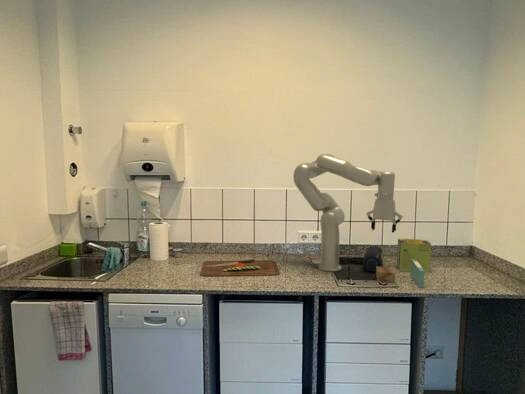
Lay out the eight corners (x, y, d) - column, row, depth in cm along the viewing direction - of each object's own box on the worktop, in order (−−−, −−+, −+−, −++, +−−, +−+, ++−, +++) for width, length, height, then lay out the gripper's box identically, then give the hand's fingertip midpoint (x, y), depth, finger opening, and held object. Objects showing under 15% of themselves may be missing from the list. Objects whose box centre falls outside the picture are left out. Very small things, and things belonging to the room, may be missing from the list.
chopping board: (194, 278, 196) (194, 272, 196) (199, 263, 223) (199, 258, 222) (285, 276, 200) (285, 270, 199) (278, 262, 226) (278, 257, 226)
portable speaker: (381, 274, 203) (382, 255, 202) (361, 272, 207) (362, 253, 206) (383, 262, 227) (384, 245, 226) (365, 260, 230) (366, 243, 229)
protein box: (429, 273, 207) (431, 243, 205) (398, 271, 210) (400, 242, 208) (425, 267, 217) (427, 239, 215) (396, 265, 220) (397, 238, 218)
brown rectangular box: (377, 282, 192) (377, 271, 191) (375, 275, 201) (376, 266, 201) (394, 283, 190) (394, 273, 189) (392, 277, 200) (392, 267, 199)
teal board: (419, 287, 183) (420, 270, 183) (410, 274, 203) (411, 259, 202) (423, 287, 183) (424, 270, 182) (414, 274, 203) (415, 259, 202)
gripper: (365, 196, 196) (363, 230, 198) (402, 198, 188) (399, 234, 190) (369, 194, 203) (367, 227, 205) (405, 197, 195) (402, 231, 197)
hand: (383, 230), depth 198 cm, fingers open, 9 cm apart
